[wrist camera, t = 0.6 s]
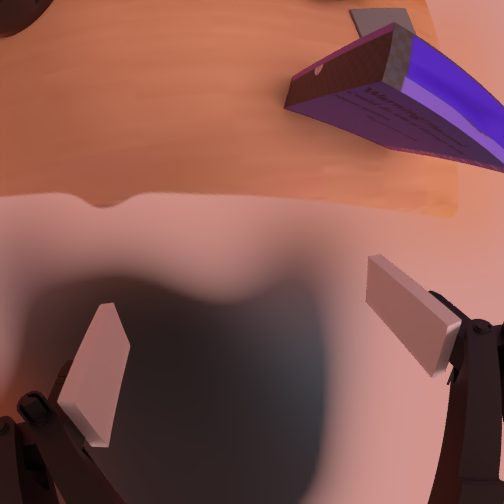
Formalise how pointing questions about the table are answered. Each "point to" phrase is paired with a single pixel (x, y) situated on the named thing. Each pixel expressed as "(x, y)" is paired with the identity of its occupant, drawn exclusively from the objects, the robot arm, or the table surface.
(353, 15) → the rubber mat
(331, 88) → the cereal box
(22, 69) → the table surface
